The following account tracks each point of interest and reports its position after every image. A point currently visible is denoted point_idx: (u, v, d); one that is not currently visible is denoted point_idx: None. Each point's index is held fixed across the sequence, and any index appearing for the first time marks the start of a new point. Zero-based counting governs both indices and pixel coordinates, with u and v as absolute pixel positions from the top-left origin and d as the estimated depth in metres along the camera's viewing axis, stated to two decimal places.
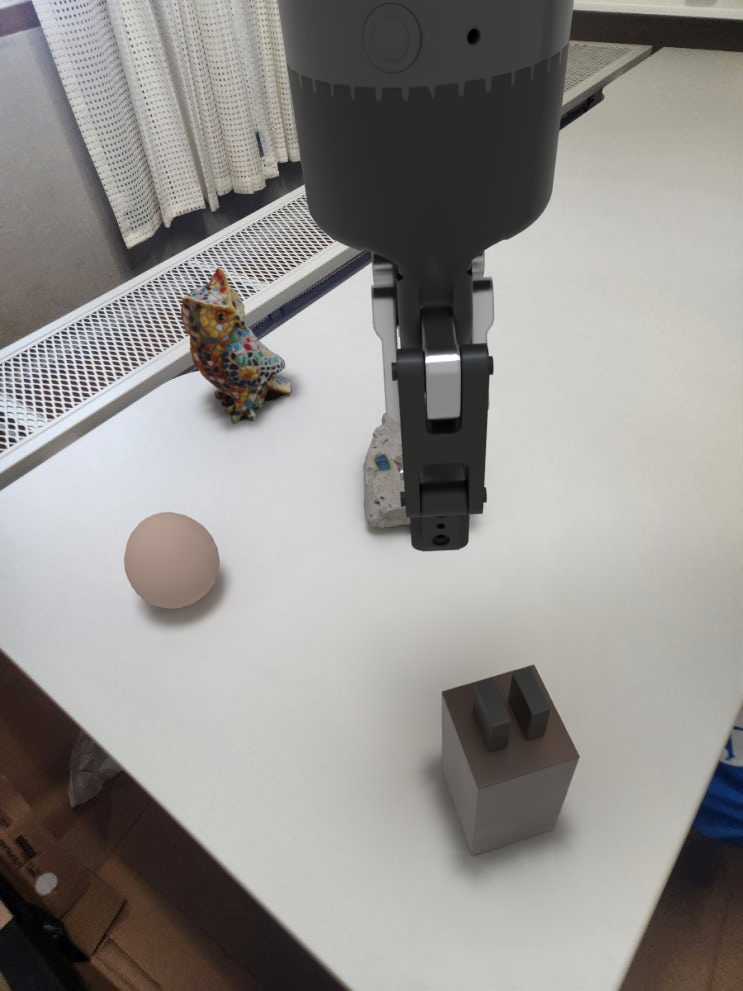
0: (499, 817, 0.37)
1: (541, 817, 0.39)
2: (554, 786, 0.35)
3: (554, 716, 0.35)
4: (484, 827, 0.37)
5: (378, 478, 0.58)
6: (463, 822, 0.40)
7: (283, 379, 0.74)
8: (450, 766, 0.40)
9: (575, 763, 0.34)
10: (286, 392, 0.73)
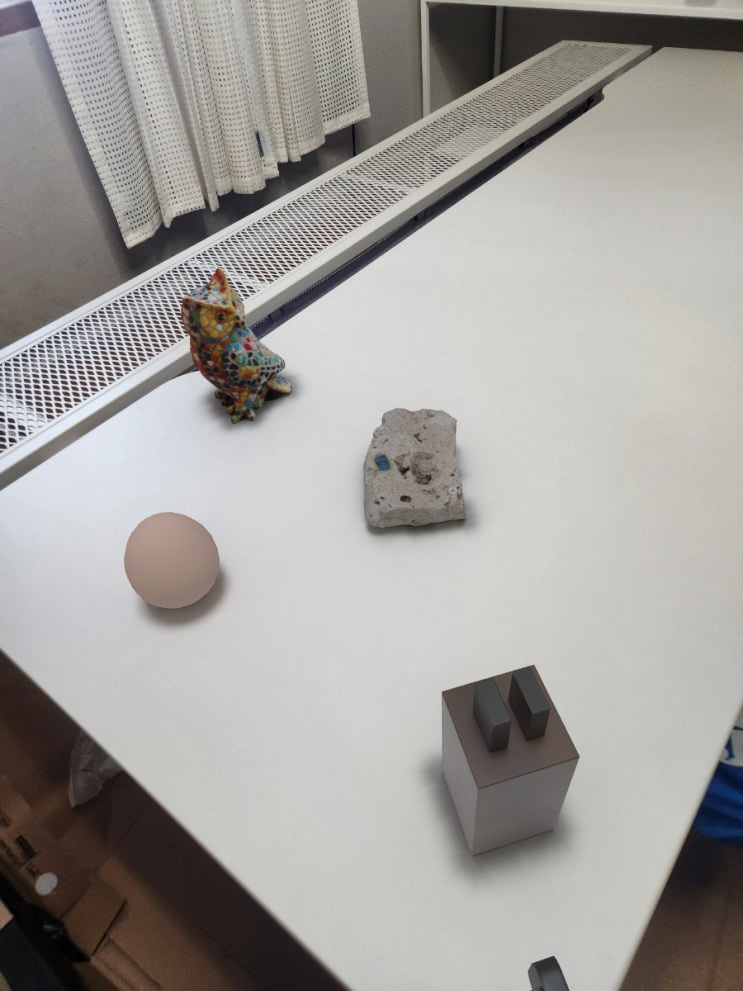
0: (499, 817, 0.37)
1: (541, 817, 0.39)
2: (554, 786, 0.35)
3: (554, 716, 0.35)
4: (484, 827, 0.37)
5: (378, 478, 0.58)
6: (463, 822, 0.40)
7: (283, 379, 0.74)
8: (450, 766, 0.40)
9: (575, 763, 0.34)
10: (286, 392, 0.73)
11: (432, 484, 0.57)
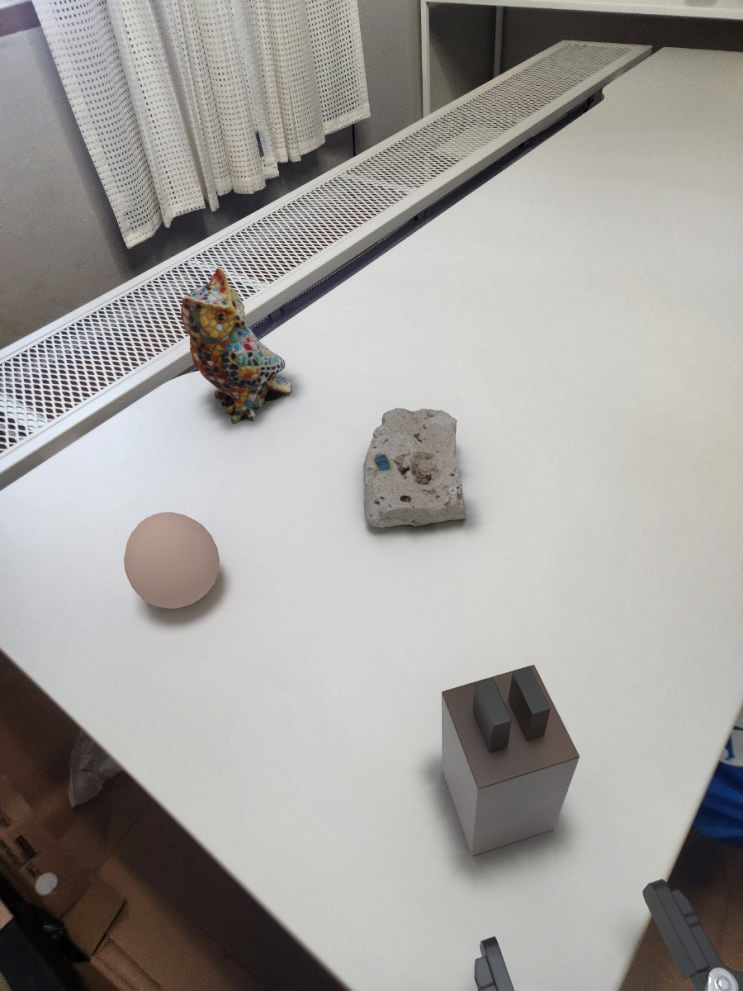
0: (499, 817, 0.37)
1: (541, 817, 0.39)
2: (554, 786, 0.35)
3: (554, 716, 0.35)
4: (484, 827, 0.37)
5: (378, 478, 0.58)
6: (463, 822, 0.40)
7: (283, 379, 0.74)
8: (450, 766, 0.40)
9: (575, 763, 0.34)
10: (286, 392, 0.73)
11: (432, 484, 0.57)
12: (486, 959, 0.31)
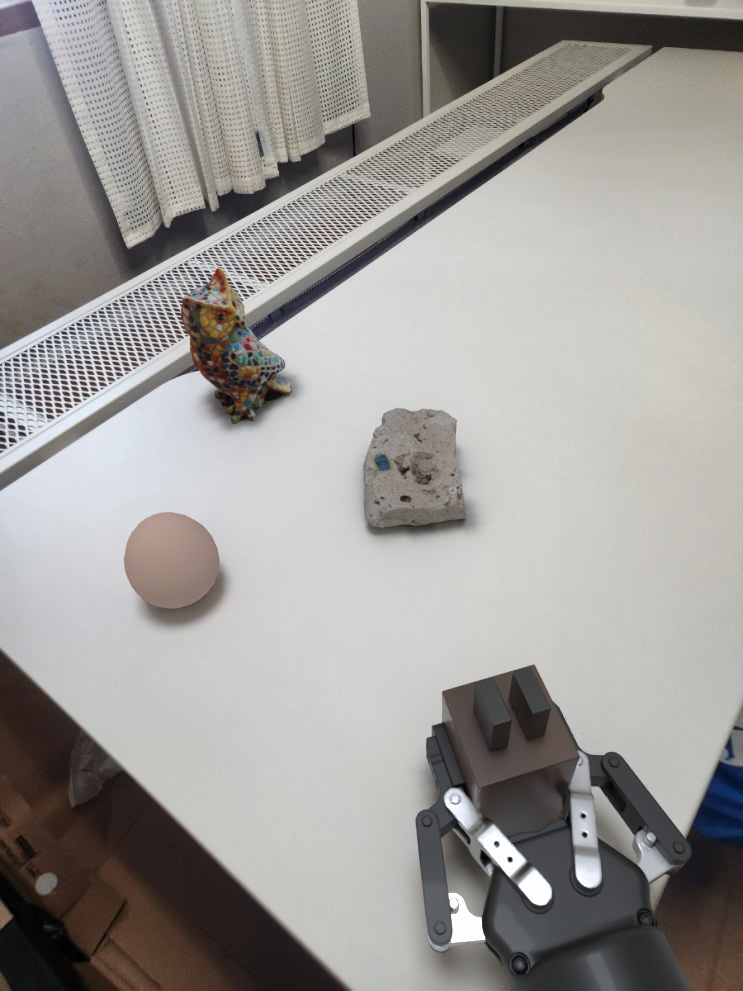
0: (499, 817, 0.37)
1: (541, 817, 0.39)
2: (554, 785, 0.35)
3: (554, 716, 0.35)
4: None
5: (378, 478, 0.58)
6: None
7: (283, 379, 0.74)
8: None
9: (575, 763, 0.34)
10: (286, 392, 0.73)
11: (432, 484, 0.57)
12: (435, 737, 0.38)
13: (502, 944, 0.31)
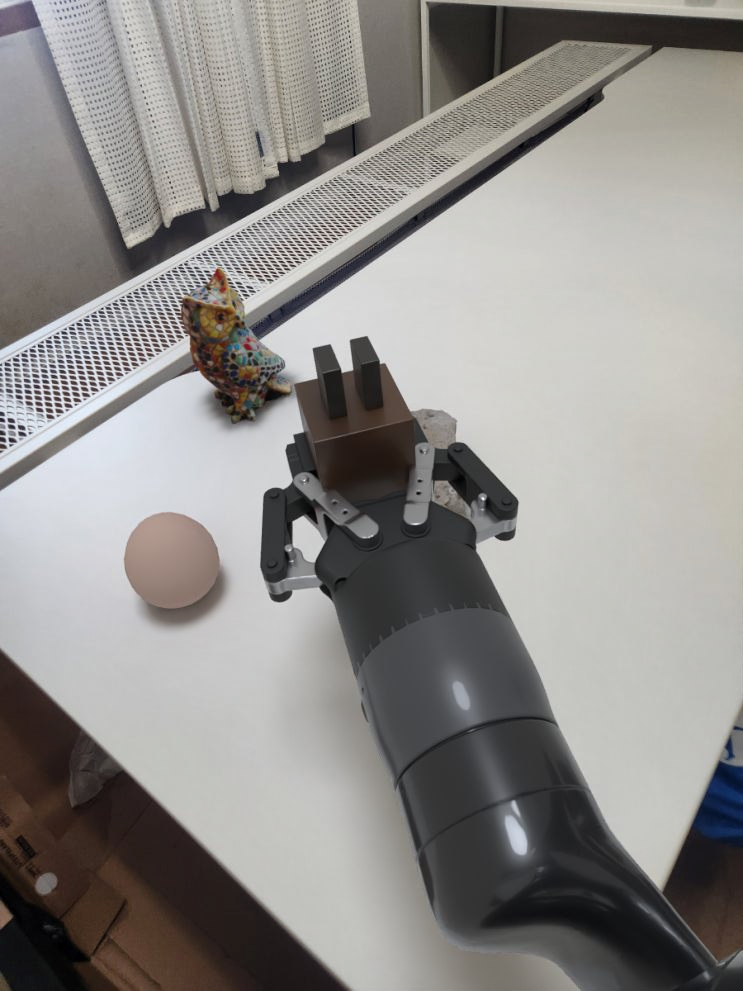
0: None
1: None
2: (399, 466, 0.37)
3: (396, 394, 0.36)
4: None
5: None
6: None
7: (283, 379, 0.74)
8: None
9: (411, 429, 0.35)
10: (286, 392, 0.73)
11: None
12: (295, 443, 0.40)
13: (329, 574, 0.33)
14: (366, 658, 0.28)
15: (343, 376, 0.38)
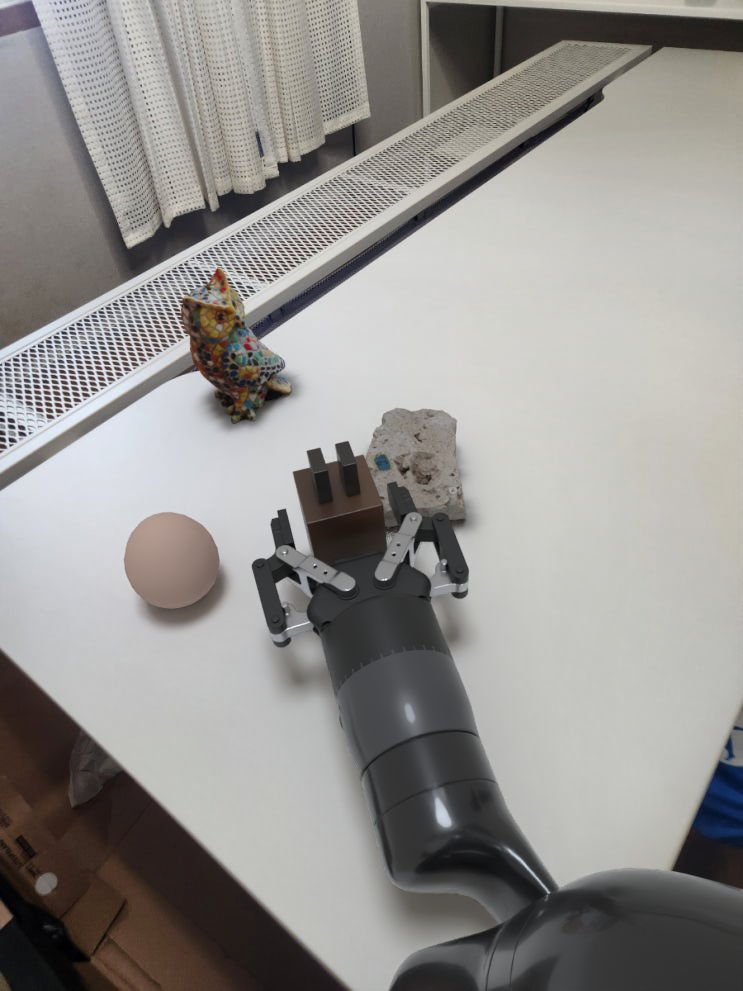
0: None
1: None
2: (372, 537, 0.48)
3: (370, 483, 0.48)
4: None
5: (378, 478, 0.58)
6: None
7: (283, 379, 0.74)
8: (309, 543, 0.53)
9: (381, 511, 0.47)
10: (286, 392, 0.73)
11: (432, 484, 0.57)
12: (278, 518, 0.50)
13: (320, 618, 0.43)
14: (342, 685, 0.39)
15: (330, 466, 0.49)
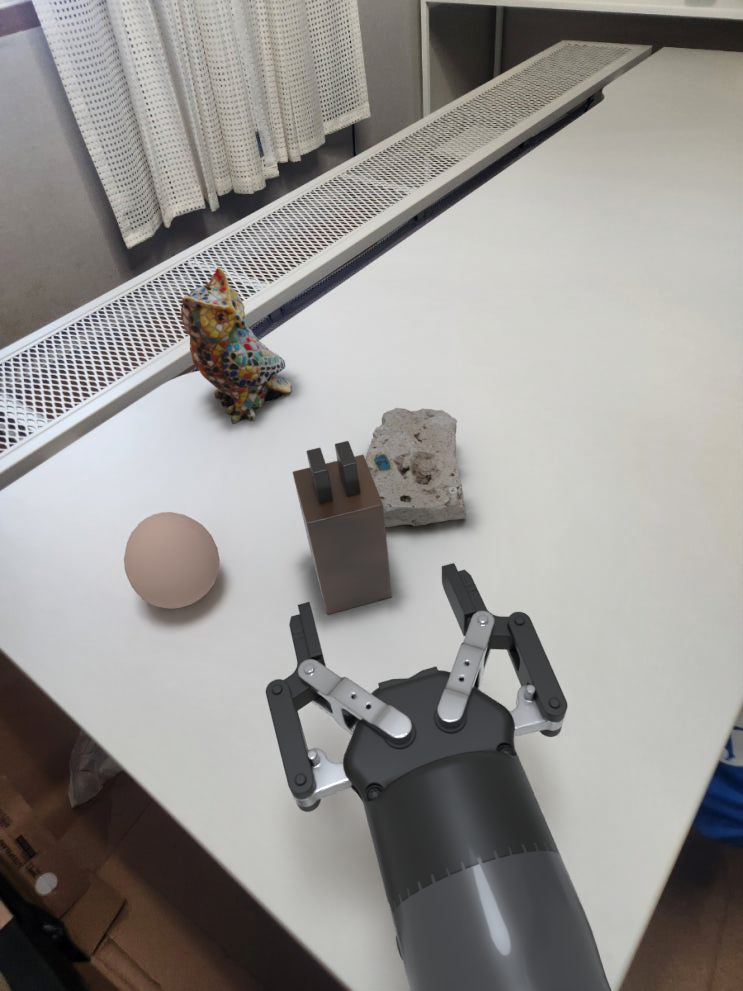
0: (336, 566, 0.49)
1: (374, 576, 0.52)
2: (372, 537, 0.48)
3: (370, 483, 0.48)
4: (327, 576, 0.50)
5: (378, 478, 0.58)
6: (320, 587, 0.53)
7: (283, 379, 0.74)
8: None
9: (381, 511, 0.47)
10: (286, 392, 0.73)
11: (432, 484, 0.57)
12: (299, 615, 0.37)
13: (364, 778, 0.31)
14: (403, 902, 0.26)
15: (330, 466, 0.49)
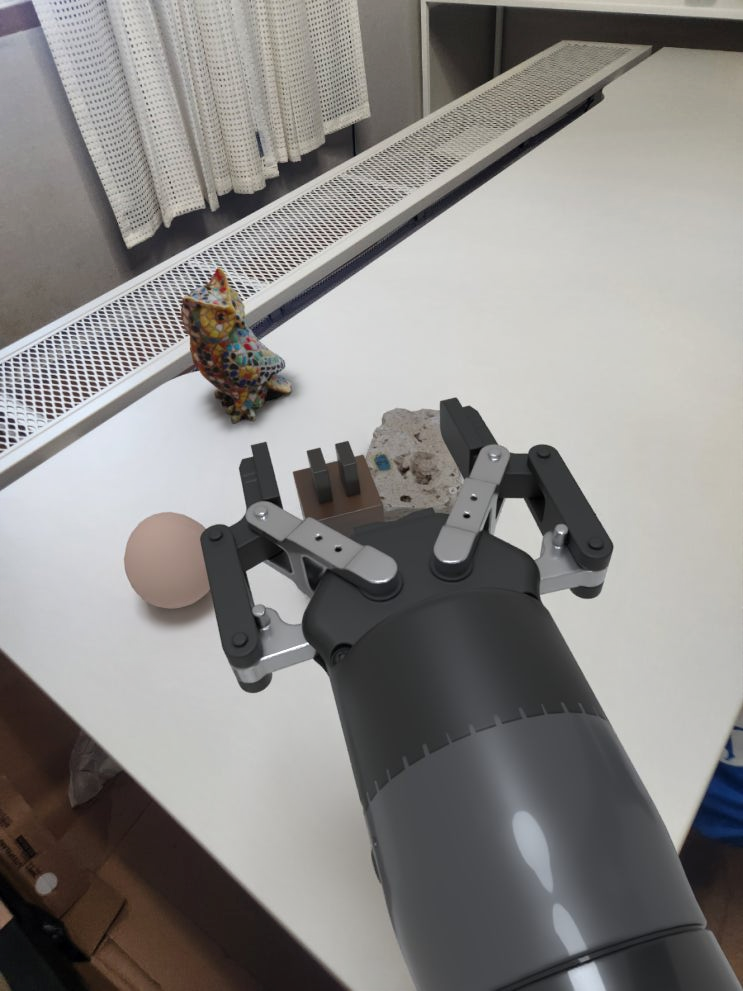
0: None
1: None
2: None
3: (370, 483, 0.48)
4: None
5: (378, 478, 0.58)
6: None
7: (283, 379, 0.74)
8: None
9: (381, 511, 0.47)
10: (286, 392, 0.73)
11: (432, 484, 0.57)
12: (253, 458, 0.28)
13: (330, 638, 0.22)
14: (380, 791, 0.17)
15: (330, 466, 0.49)
